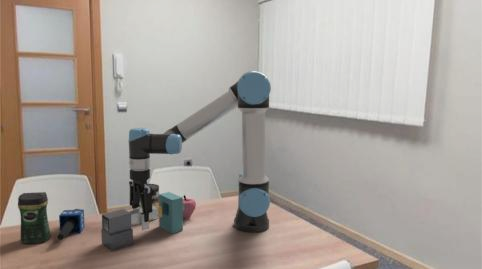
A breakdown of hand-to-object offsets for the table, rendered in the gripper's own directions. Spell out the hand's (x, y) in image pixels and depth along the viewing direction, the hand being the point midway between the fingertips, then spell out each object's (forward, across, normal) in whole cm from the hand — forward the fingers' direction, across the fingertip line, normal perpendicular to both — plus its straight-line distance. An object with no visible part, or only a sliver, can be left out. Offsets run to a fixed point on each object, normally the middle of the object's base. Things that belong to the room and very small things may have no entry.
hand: (141, 226), depth 142 cm
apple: (+5, -6, +25) cm, 26 cm away
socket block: (+4, 0, +14) cm, 14 cm away
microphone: (+5, -22, -19) cm, 29 cm away
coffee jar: (+5, -24, -31) cm, 39 cm away
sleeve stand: (+4, 0, -10) cm, 11 cm away
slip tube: (-3, 0, -3) cm, 4 cm away
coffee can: (+5, -18, +13) cm, 23 cm away
